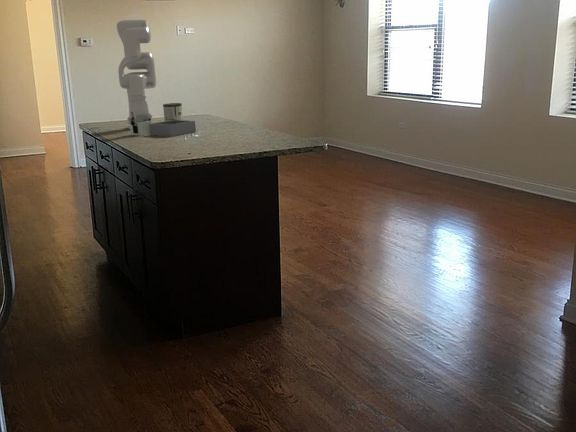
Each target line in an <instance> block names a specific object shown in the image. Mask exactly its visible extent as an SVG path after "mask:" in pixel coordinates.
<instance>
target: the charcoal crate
mask: <svg viewBox="0 0 576 432" xmlns="http://www.w3.org/2000/svg"><path fill="white" fill-rule="evenodd" d="M149 127H150V136H155V135H157V137H168V136H169V137H176V136H182V135H188V134H194V133H197V130H196V129H197V128H196V120H185V119H183V120H170V121H165V120H164V121H157V122H151V124H149Z"/></svg>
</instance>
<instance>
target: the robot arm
mask: <svg viewBox="0 0 576 432" xmlns="http://www.w3.org/2000/svg"><path fill="white" fill-rule="evenodd" d="M150 28H151V27H150V25H149V22H148V21H147V20H146V19H124V20H119V21H118V22H117V23H116V31H117V35H118V36H119V38H120V40H121V42H122V45H123V52H124V54H123V55H124V58H122V60H121V61H120V63H119V65H118V70H117V71H118V80H119V85H120V87H121V89H124V90H125V89H126V94H127V101H128V117H127V124H128V125H129V126H127V128H128V129H129V130H130V124H131V125H132V126H133V133H138V128H137V126H136V125H137V121H139V120H142V121H152V118H153V115H152V114H151V113H150V112H149V106H148V103H147V100H146V99H147V96H146V91H145V90H147V89H154V88H156V86H157V78H156V67H155V66H156V65H155V58H154V56H153V54H152V53H151V52H149V51H145V52H144V51H143V52H142V51H141V44H149V43H150V42H151V36H152V35H151V29H150ZM125 68H127V69H128V70H129V71H130V70H131V71H133V72H127V73H126V74H125V72H124V71H125ZM134 70H135V72H134ZM137 70H138V71H137ZM139 70H141V71H139ZM142 70H146V71H142ZM134 122H135V123H134Z"/></svg>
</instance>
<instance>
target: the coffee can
mask: <svg viewBox="0 0 576 432" xmlns="http://www.w3.org/2000/svg"><path fill="white" fill-rule="evenodd" d="M182 105H183V104H182V102H181V103H180V102H172V103H164V104H162V108H163V118H164V121H170V120H184V119H183V109H182Z"/></svg>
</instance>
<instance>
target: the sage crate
mask: <svg viewBox="0 0 576 432" xmlns="http://www.w3.org/2000/svg"><path fill="white" fill-rule="evenodd" d="M134 123H135V122H134ZM151 123H152V120H150V121H142V120H139V121H137V125H136V126H137V128H138V133H133V126H132V125H131V124H129V126H130V129H129V130H130V136H138V135H139V137H141V136H142V137H143V135H144V136H149V135H150V127H149V124H151ZM150 136H151V135H150Z"/></svg>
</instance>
